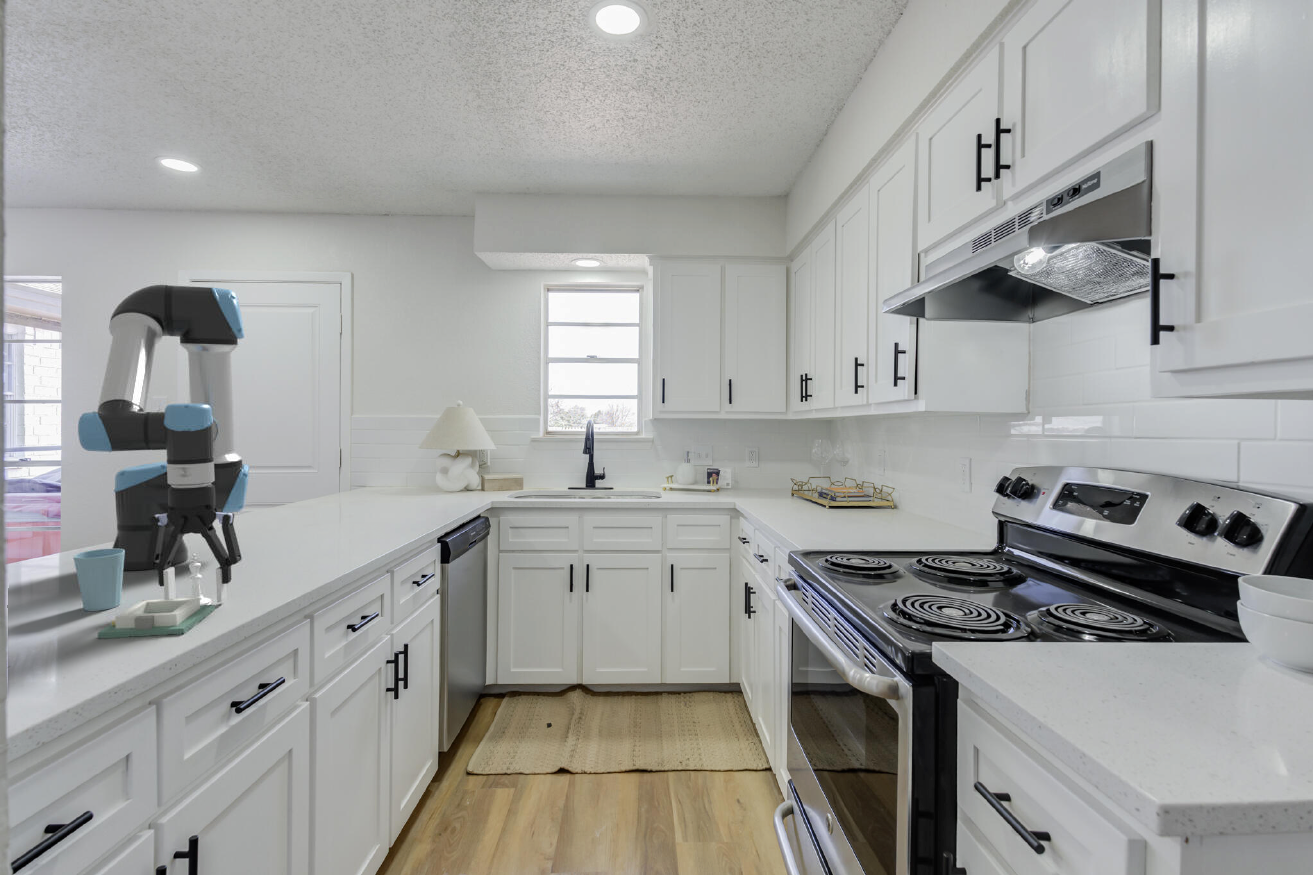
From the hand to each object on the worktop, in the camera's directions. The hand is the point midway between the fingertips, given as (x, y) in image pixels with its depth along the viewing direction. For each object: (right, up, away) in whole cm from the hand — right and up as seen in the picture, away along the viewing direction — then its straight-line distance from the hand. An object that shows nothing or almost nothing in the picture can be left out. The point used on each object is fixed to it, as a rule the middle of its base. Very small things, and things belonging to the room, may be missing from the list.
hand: (196, 601), depth 137 cm
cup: (-17, -1, -1) cm, 17 cm away
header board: (0, -2, -10) cm, 10 cm away
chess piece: (0, -1, 0) cm, 1 cm away
